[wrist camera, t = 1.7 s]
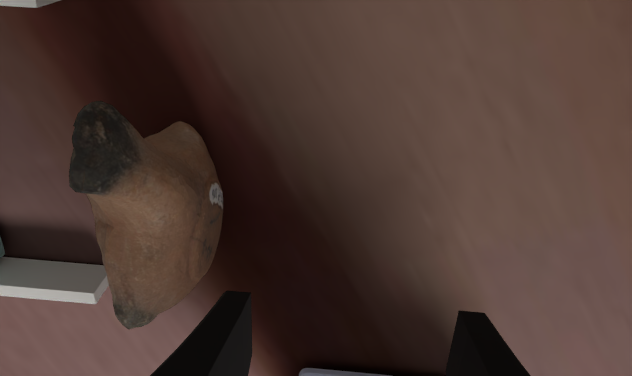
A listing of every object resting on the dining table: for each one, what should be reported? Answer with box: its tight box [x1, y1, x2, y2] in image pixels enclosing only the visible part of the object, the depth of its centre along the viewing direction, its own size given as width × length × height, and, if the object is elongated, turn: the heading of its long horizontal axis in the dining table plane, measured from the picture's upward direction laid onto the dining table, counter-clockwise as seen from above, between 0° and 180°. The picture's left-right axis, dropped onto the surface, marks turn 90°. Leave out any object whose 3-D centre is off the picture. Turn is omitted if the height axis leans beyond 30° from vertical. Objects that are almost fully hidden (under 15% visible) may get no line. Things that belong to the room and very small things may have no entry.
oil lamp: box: [69, 101, 223, 329], centre depth 18 cm, size 9×4×8 cm, turn 0°
